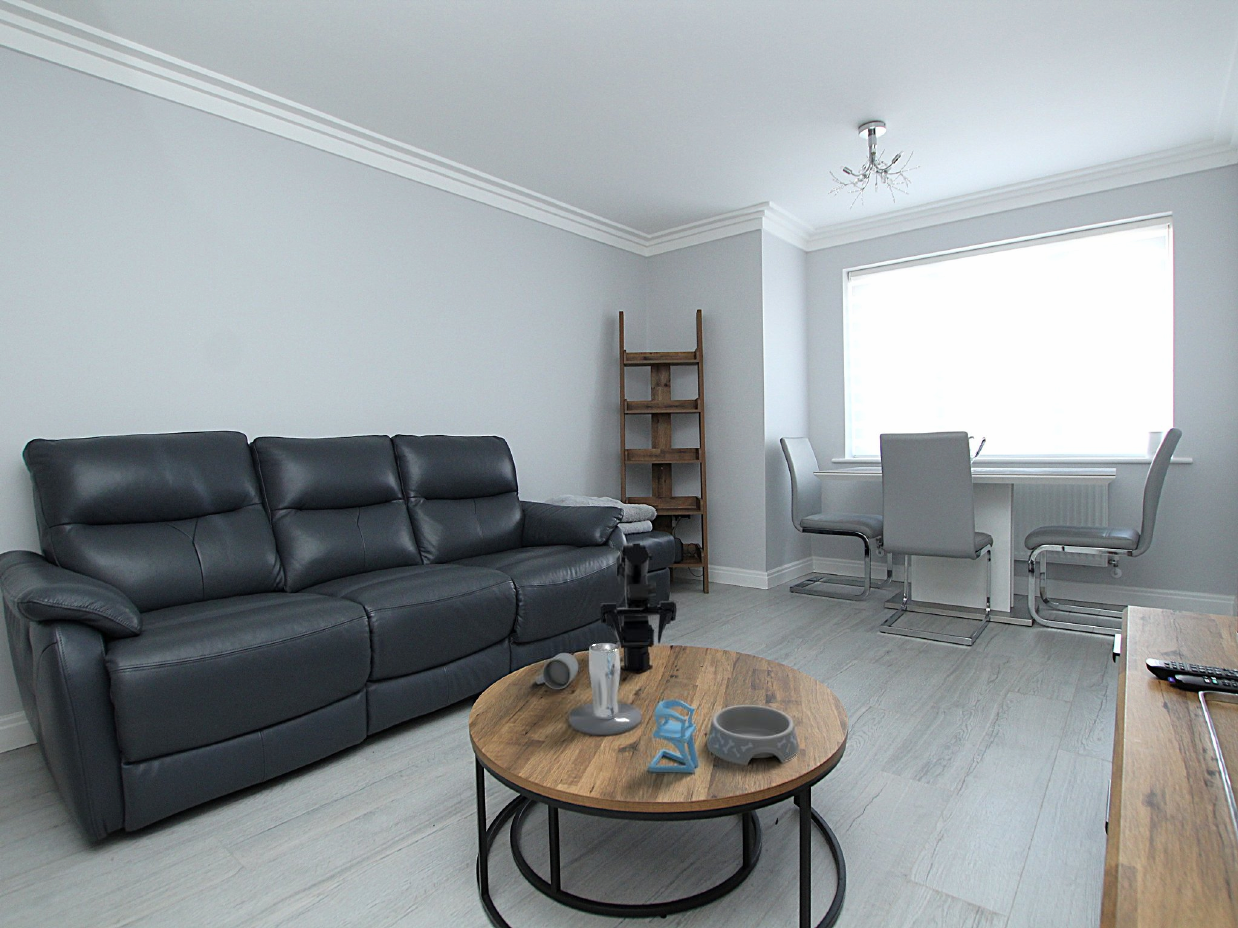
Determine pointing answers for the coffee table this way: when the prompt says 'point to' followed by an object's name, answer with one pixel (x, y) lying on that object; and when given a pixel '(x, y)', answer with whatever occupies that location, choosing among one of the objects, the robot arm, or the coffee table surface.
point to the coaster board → (590, 725)
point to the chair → (675, 737)
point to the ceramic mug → (559, 671)
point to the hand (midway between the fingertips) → (640, 643)
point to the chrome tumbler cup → (604, 679)
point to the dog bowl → (752, 734)
